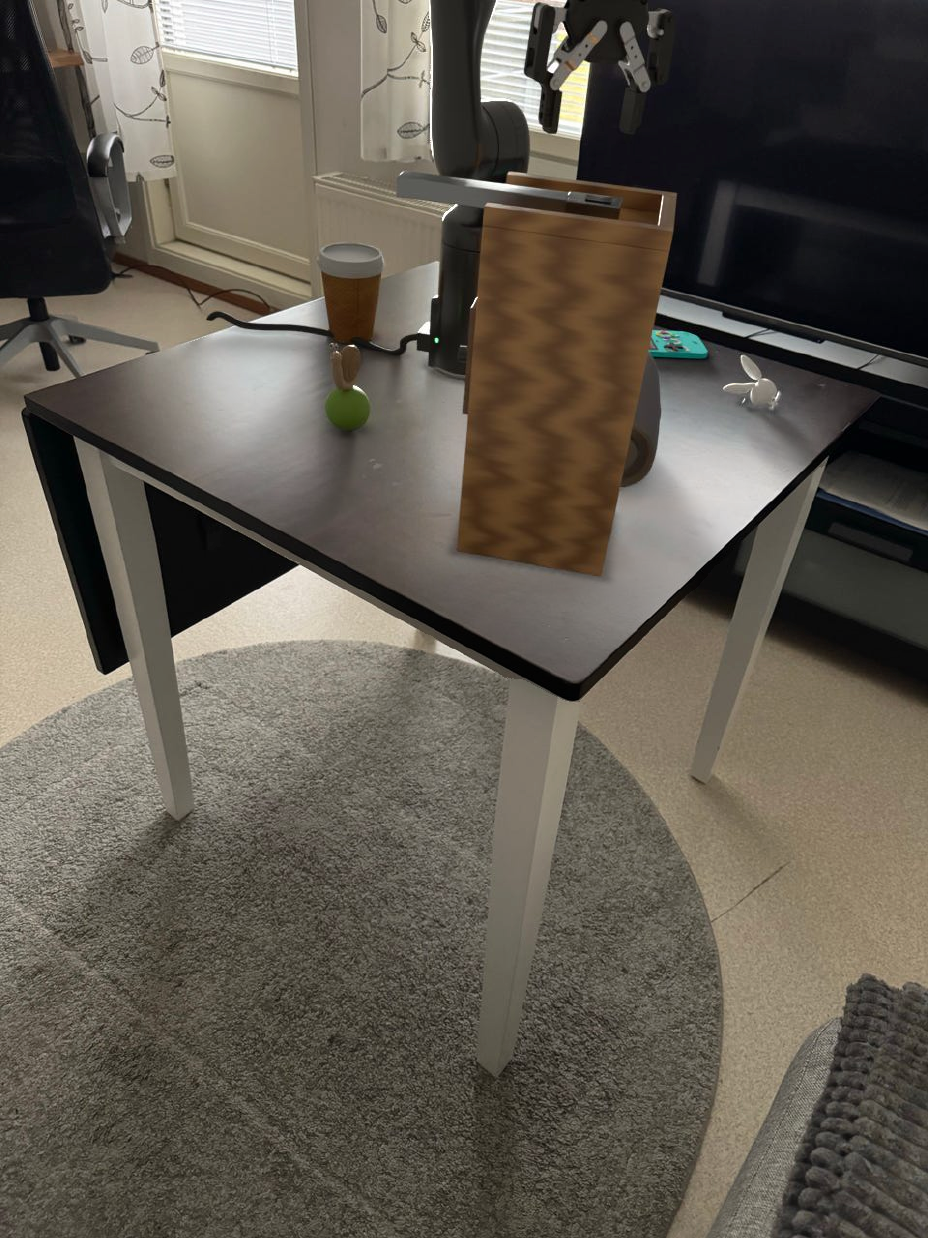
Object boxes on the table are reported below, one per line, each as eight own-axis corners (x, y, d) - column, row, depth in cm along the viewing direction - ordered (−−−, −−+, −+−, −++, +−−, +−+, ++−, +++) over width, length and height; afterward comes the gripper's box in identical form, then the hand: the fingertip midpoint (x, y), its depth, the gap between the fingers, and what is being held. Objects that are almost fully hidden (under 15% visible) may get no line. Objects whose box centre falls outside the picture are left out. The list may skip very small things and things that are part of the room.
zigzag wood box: (441, 548, 94) (464, 203, 73) (464, 490, 103) (491, 168, 82) (601, 577, 92) (673, 231, 71) (611, 515, 101) (677, 192, 80)
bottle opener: (394, 198, 78) (395, 176, 77) (404, 188, 80) (405, 167, 79) (616, 227, 76) (620, 206, 75) (619, 217, 78) (622, 196, 77)
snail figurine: (314, 435, 110) (310, 339, 103) (337, 414, 115) (336, 320, 108) (355, 445, 109) (354, 349, 102) (377, 423, 114) (378, 330, 106)
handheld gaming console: (710, 351, 136) (611, 348, 135) (708, 358, 137) (610, 355, 136) (695, 330, 143) (601, 326, 141) (693, 336, 144) (600, 332, 142)
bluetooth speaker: (650, 503, 104) (668, 423, 97) (568, 491, 105) (581, 411, 98) (653, 415, 121) (669, 342, 115) (583, 405, 122) (595, 332, 116)
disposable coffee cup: (328, 319, 139) (326, 237, 131) (389, 327, 138) (391, 245, 130) (311, 343, 131) (308, 258, 124) (376, 352, 131) (377, 267, 123)
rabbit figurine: (772, 418, 123) (726, 382, 122) (757, 427, 127) (712, 393, 126) (793, 385, 124) (747, 349, 124) (778, 395, 128) (733, 361, 127)
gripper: (668, -70, 85) (634, 123, 95) (527, -82, 81) (507, 122, 91) (710, -63, 80) (669, 142, 90) (562, -75, 75) (537, 141, 86)
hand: (588, 132), depth 91 cm, fingers open, 8 cm apart
